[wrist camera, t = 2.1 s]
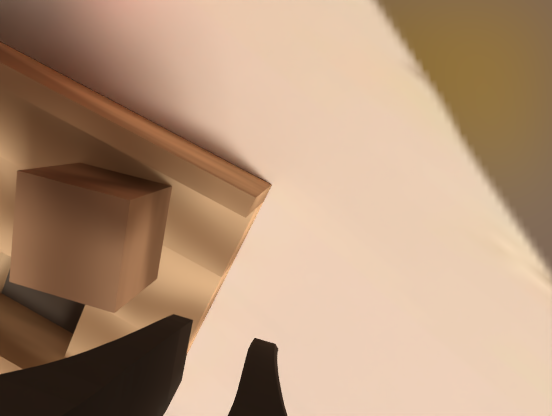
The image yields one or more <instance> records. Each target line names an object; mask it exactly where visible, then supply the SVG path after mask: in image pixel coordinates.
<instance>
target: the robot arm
mask: <svg viewBox="0 0 552 416" xmlns="http://www.w3.org/2000/svg"><path fill="white" fill-rule="evenodd" d="M192 323H193V320H192V319H189V318H185V317H182V316H179V315H175V314H173V315H170V316H168V317H165V318H163V319H161V320H159V321H157V322H154V323H152V324H150V325H148V326H146V327H144V328H141V329H139V330H137V331H135V332H132V333H130V334H128V335H126V336H123V337H121V338H119V339H116V340H114V341H111V342H109V343H106V344H103V345H101V346H98V347H96V348H93V349H91V350H88V351H85V352H82V353H80V354H77V355H73V356H70V357H67V358H64V359H60V360H57V361H54V362H50V363H47V364H43V365H39V366H35V367H30V368H26V369H21V370H17V371H12V372H8V373H3V374H0V416H163V415H164V413H165V412H166V410H167V408H168V406H169V404H170V402H171V400H172V398H173V396H174V394H175V392H176V390H177V388H178V387H179V385H180V383H181V381H182V376H183V370H184V365H185V360H186V355H187V349H188V344H189V339H190V334H191V329H192ZM277 352H278V348H277V346H276V344H274V343H270V342H267V341H263V340H260V339H257V338H254V340H253V341H252V343H251V345H250V347H249V349H248V352H247V356H246V360H245V364H244V367H243V371H242V375H241V379H240V383H239V387H238V391H237V394H236V397H235V400H234V403H233V405H232V407H231V410H230V412H229V414H228V416H287V413H286V409H285V406H284V401H283V397H282V392H281V387H280V382H279V375H278V366H277Z"/></svg>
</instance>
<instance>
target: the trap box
mask: <svg viewBox="0 0 552 416" xmlns="http://www.w3.org/2000/svg"><path fill="white" fill-rule="evenodd" d="M72 163H84V164H88V165H92V166H96V167H100V168H103V169H107V170H111V171H115V172H119V173H123V174H127V175H131V176H135V177H139V178H142V179H146V180H150V181H154V182H158V183H162V184H166V185H170V186H172V191H171V197H170V203H169V209H168V215H167V221H166V228H165V234H164V240H163V246H162V252H161V258H160V264H159V270H158V276H157V279H156V280H155V281H154V282H152V283H151V284H150V285H149V286H147V287H146V288H145V289H144V290H143V291H141V292H140V293H139V294H138V295H136V296H135V297H134V298H133V299H131V300H130V301H129V302H128V303H126V304H125V305H124V306H123V307H122V308H120V309H119V310H118V311H117V312H115V313H112V312H108V311H105V310H102V309H98V308H95V307H92V306H88V305H85V304H82V303H78V302H75V301H72V300H68V299H65V298H62V297H58V296H55V295H52V294H48V293H45V292H42V291H38V290H35V289H32V288H28V287H25V286H22V285H18V284H15V283H12V282H9V278H10V264H11V250H12V236H13V222H14V208H15V193H16V179H17V170H24V169H32V168H40V167H48V166H56V165H64V164H72ZM271 186H272V185H271V184H269V183H267V182H265V181H263V180H261V179H259V178H258V177H256V176H254V175H252V174H250V173H248V172H246V171H244V170H242V169H240V168H239V167H237V166H235V165H233V164H231V163H229V162H227V161H225V160H223V159H222V158H220V157H218V156H216V155H214V154H212V153H210V152H208V151H206V150H204V149H203V148H201V147H199V146H197V145H195V144H193V143H191V142H189V141H187V140H186V139H184V138H182V137H180V136H178V135H176V134H174V133H172V132H170V131H168V130H167V129H165V128H163V127H161V126H159V125H157V124H155V123H153V122H151V121H149V120H148V119H146V118H144V117H142V116H140V115H138V114H136V113H134V112H132V111H131V110H129V109H127V108H125V107H123V106H121V105H119V104H117V103H115V102H113V101H112V100H110V99H108V98H106V97H104V96H102V95H100V94H98V93H96V92H95V91H93V90H91V89H89V88H87V87H85V86H83V85H81V84H79V83H77V82H76V81H74V80H72V79H70V78H68V77H66V76H64V75H62V74H60V73H58V72H57V71H55V70H53V69H51V68H49V67H47V66H45V65H43V64H41V63H40V62H38V61H36V60H34V59H32V58H30V57H28V56H26V55H24V54H22V53H21V52H19V51H17V50H15V49H13V48H11V47H9V46H7V45H5V44H4V43H2V42H0V374H3V373H8V372H12V371H17V370H21V369H26V368H30V367H35V366H39V365H43V364H47V363H50V362H54V361H57V360H60V359H64V358H67V357H70V356H73V355H77V354H80V353H82V352H85V351H88V350H91V349H93V348H96V347H98V346H101V345H103V344H106V343H109V342H111V341H114V340H116V339H119V338H121V337H123V336H126V335H128V334H130V333H132V332H135V331H137V330H139V329H141V328H144V327H146V326H148V325H150V324H152V323H154V322H157V321H159V320H161V319H163V318H165V317H168V316H170V315H173V314H175V315H179V316H182V317H185V318H189V319H192V320H193V323H192V329H191V334H190V339H189V344H188V349H187V353H188V351H189V349H190V347H191V345H192V343H193V341H194V339H195V337H196V335H197V333H198V331H199V329H200V327H201V325H202V323H203V321H204V319H205V317H206V315H207V313H208V311H209V309H210V307H211V305H212V303H213V301H214V299H215V297H216V295H217V293H218V291H219V289H220V287H221V285H222V283H223V281H224V279H225V277H226V275H227V273H228V271H229V269H230V267H231V265H232V263H233V261H234V259H235V257H236V255H237V253H238V251H239V249H240V247H241V245H242V243H243V241H244V239H245V237H246V235H247V233H248V231H249V229H250V227H251V225H252V223H253V221H254V219H255V217H256V215H257V213H258V211H259V209H260V207H261V205H262V203H263V201H264V199H265V197H266V195H267V193H268V191H269V189H270V187H271Z"/></svg>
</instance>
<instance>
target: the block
mask: <svg viewBox="0 0 552 416" xmlns="http://www.w3.org/2000/svg"><path fill="white" fill-rule="evenodd" d="M171 191H172V186H170V185H166V184H162V183H158V182H154V181H150V180H146V179H142V178H139V177H135V176H131V175H127V174H123V173H119V172H115V171H111V170H107V169H103V168H100V167H96V166H92V165H88V164H84V163H72V164H64V165H56V166H48V167H40V168H32V169H24V170H17V179H16V193H15V208H14V222H13V236H12V250H11V264H10V278H9V282H12V283H15V284H18V285H22V286H25V287H28V288H32V289H35V290H38V291H42V292H45V293H48V294H52V295H55V296H58V297H62V298H65V299H68V300H72V301H75V302H78V303H82V304H85V305H88V306H92V307H95V308H98V309H102V310H105V311H108V312H112V313H115V312H117V311H118V310H119V309H120V308H122V307H123V306H124V305H125V304H126V303H128V302H129V301H130V300H131V299H133V298H134V297H135V296H136V295H138V294H139V293H140V292H141V291H143V290H144V289H145V288H146V287H147V286H149V285H150V284H151V283H152V282H154V281H155V280H156V279H157V276H158V270H159V264H160V258H161V252H162V246H163V240H164V234H165V228H166V221H167V215H168V209H169V203H170V197H171Z"/></svg>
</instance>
